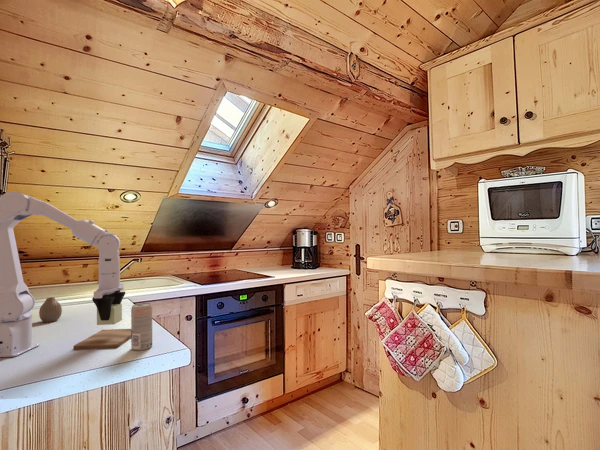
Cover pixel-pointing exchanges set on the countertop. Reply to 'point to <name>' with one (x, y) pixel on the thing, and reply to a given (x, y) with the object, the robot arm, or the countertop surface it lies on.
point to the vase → (50, 310)
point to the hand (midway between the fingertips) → (109, 317)
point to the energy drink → (141, 326)
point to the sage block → (112, 315)
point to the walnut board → (105, 339)
